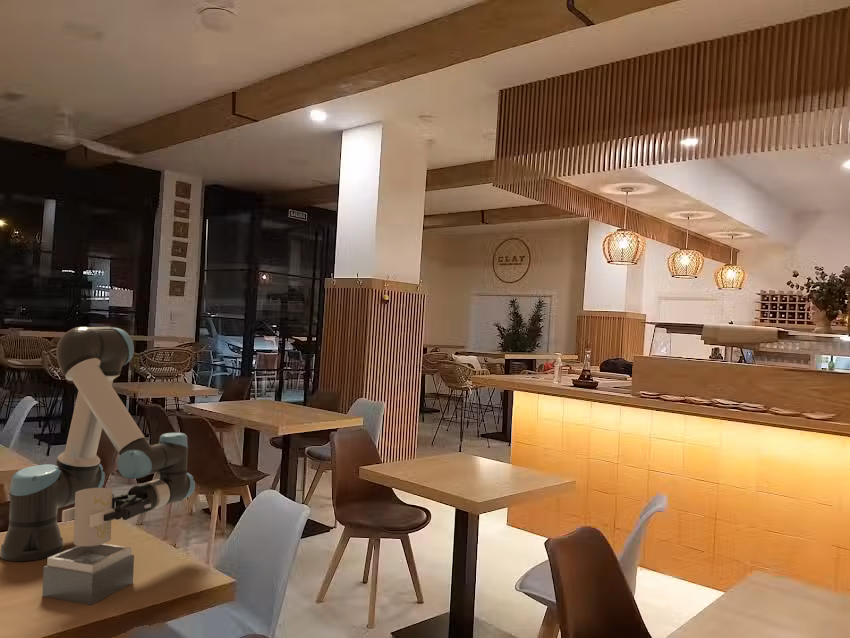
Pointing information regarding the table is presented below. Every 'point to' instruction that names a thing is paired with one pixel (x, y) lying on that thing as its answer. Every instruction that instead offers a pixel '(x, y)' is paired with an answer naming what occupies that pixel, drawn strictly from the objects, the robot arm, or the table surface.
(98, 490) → the cup
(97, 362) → the robot arm
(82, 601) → the box
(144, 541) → the table surface
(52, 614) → the table surface
